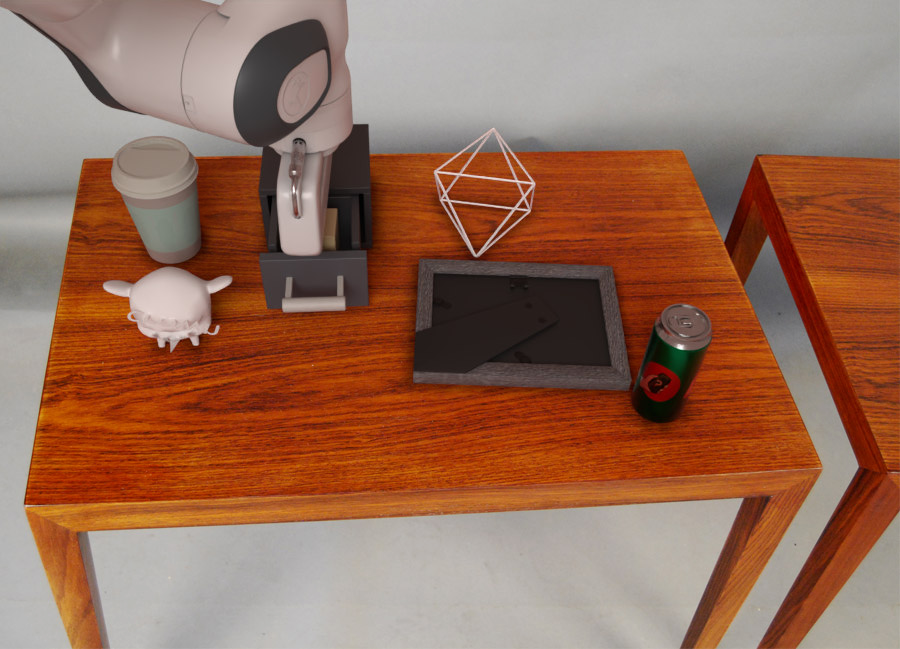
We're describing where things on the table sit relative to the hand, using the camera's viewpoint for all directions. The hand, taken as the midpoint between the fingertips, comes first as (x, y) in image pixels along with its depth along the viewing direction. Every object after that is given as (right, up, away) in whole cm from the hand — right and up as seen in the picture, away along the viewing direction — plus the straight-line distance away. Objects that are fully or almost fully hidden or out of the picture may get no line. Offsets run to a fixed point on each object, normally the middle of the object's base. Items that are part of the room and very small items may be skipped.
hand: (314, 227), depth 87 cm
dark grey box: (-1, +3, +12) cm, 12 cm away
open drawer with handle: (0, -6, +3) cm, 7 cm away
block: (0, -4, +4) cm, 5 cm away
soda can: (+34, -18, -5) cm, 38 cm away
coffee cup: (-17, -1, +8) cm, 18 cm away
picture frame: (+21, -10, +2) cm, 23 cm away
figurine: (-13, -11, -1) cm, 17 cm away
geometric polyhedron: (+18, +2, +13) cm, 22 cm away
